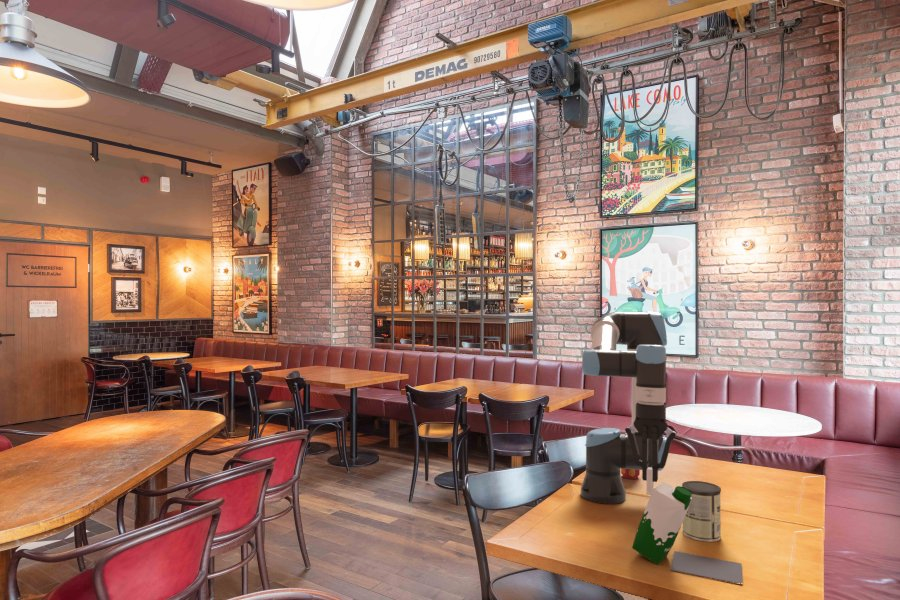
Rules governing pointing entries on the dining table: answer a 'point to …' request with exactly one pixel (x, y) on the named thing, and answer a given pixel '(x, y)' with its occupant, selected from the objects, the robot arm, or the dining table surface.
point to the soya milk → (661, 521)
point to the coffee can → (703, 512)
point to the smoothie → (630, 473)
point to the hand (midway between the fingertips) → (650, 493)
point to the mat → (707, 567)
